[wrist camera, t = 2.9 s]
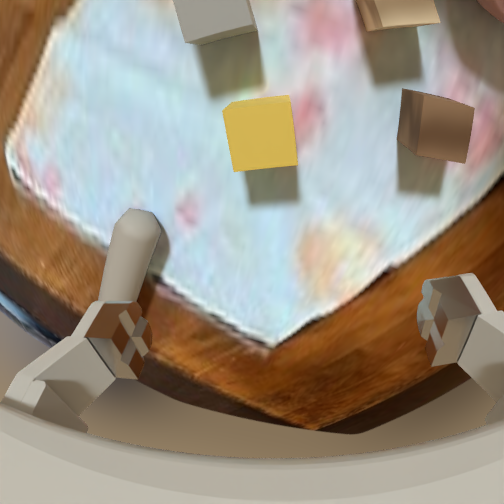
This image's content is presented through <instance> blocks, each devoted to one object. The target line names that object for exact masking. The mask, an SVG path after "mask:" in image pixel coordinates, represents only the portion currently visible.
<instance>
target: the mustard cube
mask: <svg viewBox="0 0 504 504" xmlns="http://www.w3.org/2000/svg"><path fill="white" fill-rule="evenodd" d="M222 112H223V117H224V123H225V128H226V133H227V139H228V144H229V149H230V155H231V160H232V165H233V170H234V172H238V171H247V170H255V169H264V168H274V167H284V166H295V165H298V161H297V152H296V143H295V134H294V126H293V117H292V110H291V102H290V98H289V95H283V96H274V97H265V98H257V99H250V100H243V101H236V102H232V103H230V104H229V105H228V106H227V107H226V108H225V109H223V110H222Z"/></svg>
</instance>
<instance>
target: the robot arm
mask: <svg viewBox="0 0 504 504" xmlns="http://www.w3.org/2000/svg"><path fill="white" fill-rule="evenodd" d="M421 292H422V294H423V296H424V299H423V300H422V301H421V302H420V303H419V306H418V311H417V323H418V329H419V332H420V335H421V337H423V338H424V339H425V340H427V343H426V347H425V350H426V353H427V356H428V359H429V362H430V365H431V367H433V366H439V365H444V364H450V363H455V362H458V363H457V364H458V365H459V366H460V367H461V368H462V369H463V370H464V371H465V372H466V373H467V374H469V375H470V376H471V377H472V378H473V379H474V380H475V381H476V382H477V383H478V384H479V385H480V386H481V387H482V388H483V389H484V390H485V391H486V392H487V393H488V394H489V396H491V397H492V398H493V400H494V401H495V402H496V404H495V405H494V407H493V408H492V409H491V411H490V412H489V413H488V414H487V416H486V418H485V421H486V423H487V425H485V426H482V427H479V428H475V429H473V430H469V431H466V432H462V433H459V434H455V435H452V436H448V437H444V438H440V439H436V440H432V441H428V442H423V443H419V444H414V445H409V446H404V447H398V448H392V449H386V450H380V451H373V452H367V453H358V454H349V455H339V456H327V457H311V458H238V457H222V456H210V455H200V454H191V453H183V452H175V451H169V450H162V449H156V448H150V447H144V446H139V445H134V444H129V443H125V442H120V441H116V440H111V439H107V438H103V437H99V436H95V435H92V434H88V433H87V431H88V426H87V424H86V423H85V422H84V421H83V420H82V419H81V418H80V417H79V415H80V414H81V413H82V412H83V411H84V410H85V409H86V408H87V407H88V406H89V405H90V404H91V403H92V402H93V401H94V400H95V399H96V398H97V397H98V396H99V395H100V394H101V393H102V392H103V391H104V390H105V389H106V388H107V387H108V386H109V385H110V384H111V383H112V382H113V381H114V380H115V377H116V378H129V379H138V378H139V376H140V373H141V370H142V368H143V365H144V363H145V362H144V359H143V356H144V355H145V354H146V353H147V352H149V350H150V347H151V345H152V331H151V327H150V325H149V323H148V321H146V320H145V319H144V318H142V317H141V314H142V309H141V307H140V305H139V304H138V303H137V302H135V301H95V302H93V303H92V304H91V305H90V307H89V308H88V310H87V311H86V313H85V315H84V316H83V318H82V319H81V321H80V323H79V324H78V326H77V327H76V329H75V331H74V332H73V334H72V336H71V337H66V338H65V339H63V340H62V341H60V342H59V343H58V344H56V345H55V346H54V347H52V348H51V349H49V350H48V351H47V352H45V353H44V354H43V355H41V356H40V357H38V358H37V359H36V360H34V361H33V362H32V363H30V364H29V365H28V366H26V367H25V368H24V369H22V370H21V371H20V372H18V373H17V375H16V377H15V378H14V380H13V382H12V383H11V385H10V387H9V389H8V391H7V392H6V394H5V396H4V398H3V400H2V401H1V402H0V504H504V312H503V311H502V310H501V311H497V310H496V308H495V306H494V305H493V303H492V301H491V300H490V298H489V296H488V295H487V293H486V292H485V290H484V288H483V287H482V285H481V284H480V282H479V281H478V279H477V277H476V276H475V275H474V274H472V273H467V274H461V275H457V276H450V277H443V278H436V279H428V280H425V282H424V283H423V287H422V291H421Z"/></svg>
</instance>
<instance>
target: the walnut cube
mask: <svg viewBox="0 0 504 504" xmlns="http://www.w3.org/2000/svg"><path fill="white" fill-rule="evenodd" d="M474 109H475V108H473V107H470V106H468V105H465V104H462V103H460V102H457V101H454V100H451V99H448V98H444V97H440V96H436V95H432V94H427V93H423V92H418V91H413V90H408V89H403V88H402V98H401V108H400V118H399V126H398V134H397V140H398V141H399V142H401V143H402V144H403V145H404V146H405V147H407V148H408V149H409V150H410V151H412V152H413V153H414V154H415V155H417V156H424V157H430V158H436V159H442V160H448V161H453V162H459V163H464V164H465V162H466V157H467V152H468V147H469V142H470V136H471V130H472V123H473V117H474Z"/></svg>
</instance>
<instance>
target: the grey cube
mask: <svg viewBox="0 0 504 504" xmlns="http://www.w3.org/2000/svg"><path fill="white" fill-rule="evenodd" d="M173 2H174V6H175V9H176V13H177V16H178V20H179V23H180V26H181V30H182V33H183V37H184V40H185V43H190V44H197V45H204V44H207V43H210V42H214V41H218V40H221V39H225V38H229V37H233V36H237V35H241V34H245V33H250V32H254V31H258V29H257V26H256V22H255V19H254V15H253V12H252V8H251V5H250V1H249V0H173Z"/></svg>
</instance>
